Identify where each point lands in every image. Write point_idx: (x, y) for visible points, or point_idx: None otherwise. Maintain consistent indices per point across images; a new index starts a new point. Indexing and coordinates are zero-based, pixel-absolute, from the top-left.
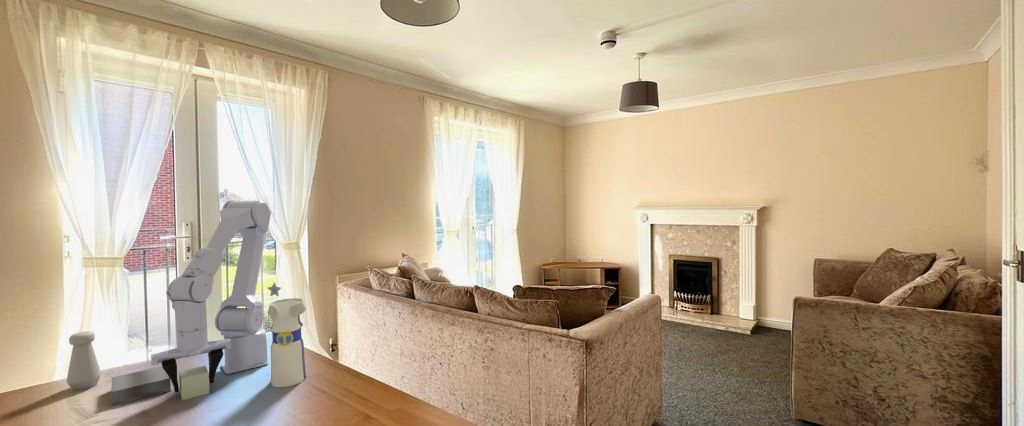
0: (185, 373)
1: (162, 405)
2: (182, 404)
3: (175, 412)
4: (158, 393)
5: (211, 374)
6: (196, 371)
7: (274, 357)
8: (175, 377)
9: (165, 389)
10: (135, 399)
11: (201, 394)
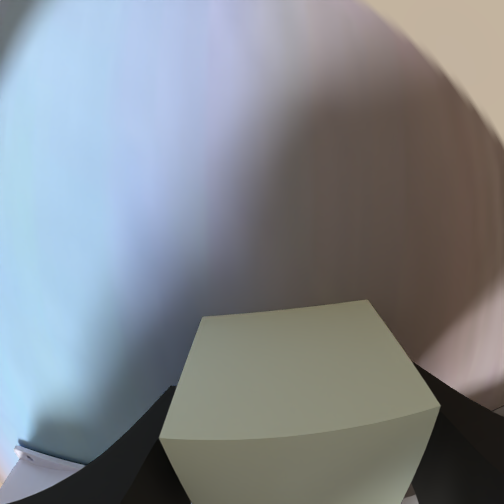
0: (370, 493)
1: (457, 284)
2: (371, 218)
3: (406, 104)
4: None
5: (156, 431)
6: (282, 499)
7: None
8: (472, 429)
9: None
10: (493, 411)
11: (251, 314)
